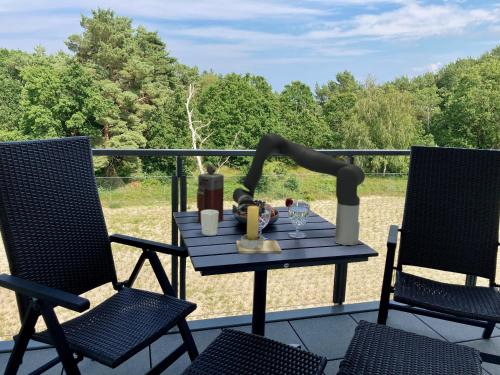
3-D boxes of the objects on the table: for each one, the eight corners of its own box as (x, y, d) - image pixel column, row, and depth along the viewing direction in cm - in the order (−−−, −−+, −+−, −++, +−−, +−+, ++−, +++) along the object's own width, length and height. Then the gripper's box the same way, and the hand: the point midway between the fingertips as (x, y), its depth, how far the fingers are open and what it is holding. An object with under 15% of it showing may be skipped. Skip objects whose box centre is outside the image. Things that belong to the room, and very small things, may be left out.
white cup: (202, 236, 190) (202, 214, 188) (199, 231, 197) (199, 209, 195) (219, 235, 192) (220, 213, 190) (216, 230, 199) (216, 209, 197)
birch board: (276, 242, 184) (276, 240, 184) (281, 253, 171) (281, 250, 171) (236, 242, 182) (236, 240, 182) (238, 253, 170) (238, 251, 169)
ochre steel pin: (256, 243, 179) (258, 205, 176) (258, 247, 175) (259, 208, 171) (246, 243, 178) (247, 205, 175) (247, 247, 174) (248, 208, 171)
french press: (194, 222, 211) (194, 165, 205) (209, 217, 220) (209, 162, 214) (208, 225, 206) (209, 167, 200) (223, 220, 215) (224, 164, 210)
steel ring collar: (261, 242, 181) (261, 234, 180) (264, 249, 173) (264, 240, 172) (240, 242, 180) (240, 234, 179) (242, 249, 172) (242, 240, 171)
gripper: (231, 196, 199) (233, 204, 184) (261, 196, 201) (266, 204, 185) (230, 212, 201) (233, 221, 185) (261, 212, 202) (266, 221, 187)
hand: (249, 213), depth 185 cm, fingers open, 8 cm apart
